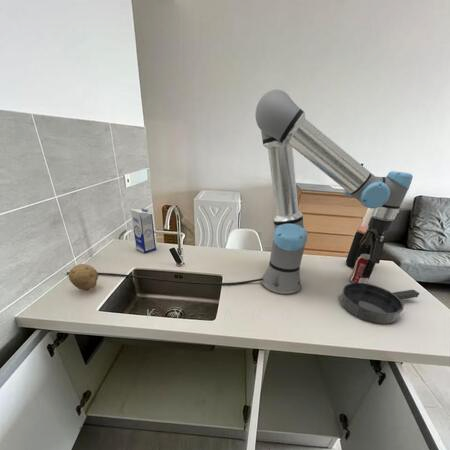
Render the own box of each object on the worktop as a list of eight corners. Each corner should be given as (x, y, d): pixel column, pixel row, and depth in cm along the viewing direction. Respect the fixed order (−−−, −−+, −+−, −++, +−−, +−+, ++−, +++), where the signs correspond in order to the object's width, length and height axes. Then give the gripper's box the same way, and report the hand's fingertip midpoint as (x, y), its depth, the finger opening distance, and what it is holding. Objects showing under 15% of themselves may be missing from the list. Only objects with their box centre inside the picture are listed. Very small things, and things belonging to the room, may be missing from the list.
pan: (366, 328, 78) (371, 317, 75) (328, 295, 94) (332, 285, 91) (411, 320, 83) (417, 309, 80) (368, 289, 99) (372, 280, 96)
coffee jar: (374, 270, 114) (389, 233, 105) (355, 272, 111) (369, 234, 102) (357, 260, 123) (370, 225, 113) (340, 262, 120) (352, 226, 111)
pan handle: (392, 301, 88) (394, 296, 87) (386, 297, 90) (388, 293, 89) (417, 297, 91) (419, 293, 90) (411, 293, 93) (413, 289, 93)
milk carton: (136, 249, 121) (130, 208, 110) (147, 245, 125) (143, 206, 115) (144, 253, 117) (139, 211, 107) (156, 249, 121) (152, 209, 111)
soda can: (368, 287, 100) (379, 261, 94) (351, 285, 101) (361, 259, 95) (364, 279, 106) (374, 254, 100) (347, 277, 107) (356, 252, 101)
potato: (81, 282, 93) (74, 258, 88) (105, 283, 93) (99, 259, 88) (68, 295, 85) (60, 270, 80) (94, 296, 85) (87, 271, 80)
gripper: (406, 230, 78) (379, 285, 89) (383, 211, 99) (363, 257, 110) (381, 226, 79) (358, 281, 91) (363, 208, 100) (346, 255, 111)
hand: (361, 268), depth 100 cm, fingers open, 13 cm apart
